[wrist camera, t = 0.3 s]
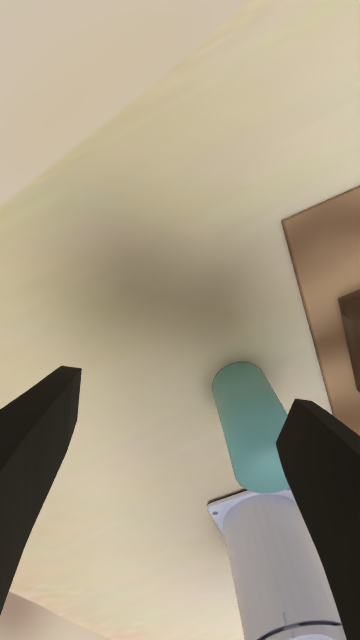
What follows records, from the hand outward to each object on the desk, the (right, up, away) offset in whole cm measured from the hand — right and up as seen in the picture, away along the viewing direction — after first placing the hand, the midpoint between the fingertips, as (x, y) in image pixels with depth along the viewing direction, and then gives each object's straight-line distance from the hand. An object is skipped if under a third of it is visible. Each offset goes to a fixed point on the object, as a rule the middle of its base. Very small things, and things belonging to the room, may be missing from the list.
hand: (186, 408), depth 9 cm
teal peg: (+4, -2, +12) cm, 12 cm away
